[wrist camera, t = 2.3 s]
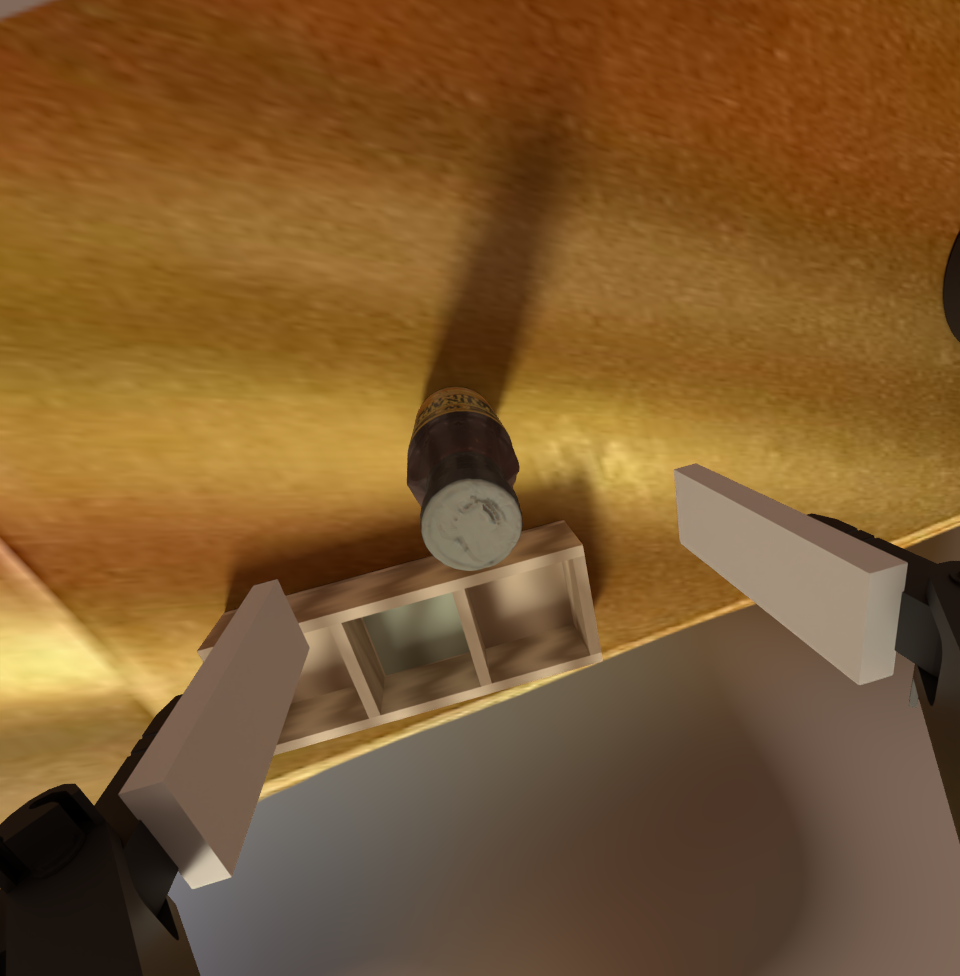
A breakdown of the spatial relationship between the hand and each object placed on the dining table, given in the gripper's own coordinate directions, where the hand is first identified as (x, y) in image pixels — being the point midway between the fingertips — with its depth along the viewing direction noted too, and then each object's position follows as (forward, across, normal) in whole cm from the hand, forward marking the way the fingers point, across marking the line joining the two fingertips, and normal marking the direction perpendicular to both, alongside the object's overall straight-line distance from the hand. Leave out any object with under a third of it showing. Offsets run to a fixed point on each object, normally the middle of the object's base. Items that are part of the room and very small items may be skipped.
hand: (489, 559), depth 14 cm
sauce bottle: (+23, 0, 0) cm, 23 cm away
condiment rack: (+23, +8, +17) cm, 29 cm away
